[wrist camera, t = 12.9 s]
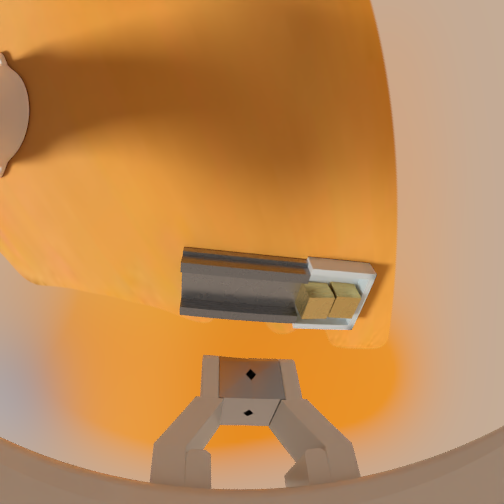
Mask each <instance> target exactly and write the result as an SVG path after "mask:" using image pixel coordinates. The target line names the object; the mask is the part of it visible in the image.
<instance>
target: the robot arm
mask: <svg viewBox="0 0 504 504" xmlns="http://www.w3.org/2000/svg"><path fill="white" fill-rule="evenodd" d="M28 120H29V100H28V95H27V91H26V88H25V85H24V83H23V81H22V79H21V78H20V76H19V75H18V74H17V73H16V72H15V71H14V70H12V69H11V68H10V67H9V66H8V65H7V62H6V60H5V57H4V56H3V54H2V53H0V178H1V177H2V175H3V173H4V171H5V168H6V165H7V163H8V161H9V160H10V159H11V158H12V157H13V156H14V154H15V153H16V152H17V151H18V149H19V148H20V146H21V144H22V142H23V139H24V137H25V134H26V130H27V126H28ZM219 425H255V426H269V428H270V429H271V431H272V432H273V433H274V435H275V436H276V437H277V439H278V440H279V441H280V442H281V444H282V445H283V446H284V448H285V449H286V450H287V451H288V453H289V454H290V455H291V456H292V458H293V459H294V460H295V462H296V463H295V465H294V466H293V467H292V468H291V469H290V470H289V471H288V472H287V473H286V475H285V484H286V488H275V489H245V490H244V489H243V490H238V489H236V490H235V489H231V490H230V489H211V455H210V453H209V452H207V451H206V450H203V449H204V447H205V446H206V444H207V443H208V441H209V440H210V439H211V437H212V436H213V434H214V433H215V432H216V430H217V429H218V427H219ZM0 504H504V426H502V427H500V428H499V429H497V430H495V431H493V432H491V433H489V434H487V435H485V436H482V437H480V438H478V439H476V440H474V441H471V442H469V443H467V444H465V445H462V446H460V447H457V448H455V449H452V450H450V451H447V452H445V453H442V454H439V455H437V456H434V457H431V458H428V459H425V460H423V461H419V462H416V463H413V464H410V465H407V466H403V467H399V468H396V469H392V470H388V471H385V472H381V473H376V474H372V475H368V476H363V477H360V473H359V469H358V465H357V461H356V457H355V453H354V449H353V446H352V443H351V442H350V441H349V440H348V439H347V438H346V437H345V436H344V435H343V434H341V433H340V432H339V431H338V430H337V429H336V428H335V427H334V426H333V425H332V424H331V423H330V422H329V421H328V420H327V419H326V418H325V417H324V416H323V415H322V414H321V413H320V412H319V411H318V410H317V409H316V408H315V407H314V406H313V405H312V404H311V403H310V402H309V401H308V400H307V399H302V395H301V390H300V386H299V380H298V376H297V371H296V367H295V362H294V361H293V360H285V359H282V360H281V359H256V358H255V359H254V358H249V359H245V358H232V357H222V356H210V355H203V362H202V377H201V395H200V397H199V396H198V397H197V396H196V397H195V398H194V399H193V401H192V402H191V403H190V404H189V405H188V406H187V407H186V408H185V410H184V411H183V412H182V413H181V414H180V415H179V416H178V417H177V419H176V420H175V421H174V422H173V423H172V424H171V425H170V426H169V428H168V429H167V430H166V431H165V432H164V433H163V434H162V435H161V436H160V438H159V439H158V440H157V441H156V442H155V443H154V448H153V457H152V466H151V475H150V483H149V482H143V481H137V480H131V479H126V478H122V477H117V476H112V475H108V474H104V473H99V472H96V471H91V470H88V469H84V468H81V467H77V466H74V465H71V464H68V463H64V462H62V461H58V460H56V459H53V458H50V457H47V456H44V455H42V454H39V453H36V452H34V451H31V450H29V449H26V448H24V447H22V446H19V445H17V444H14V443H12V442H10V441H8V440H6V439H3V438H1V437H0Z"/></svg>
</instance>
